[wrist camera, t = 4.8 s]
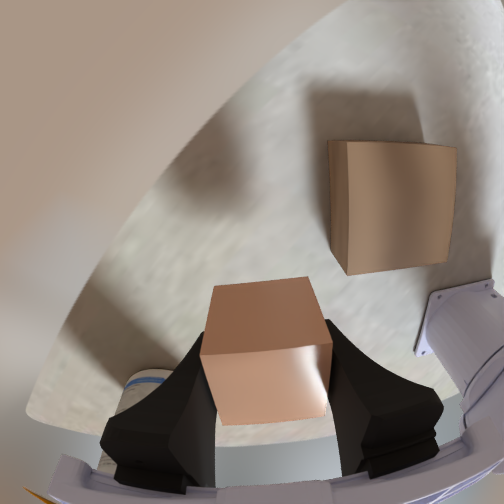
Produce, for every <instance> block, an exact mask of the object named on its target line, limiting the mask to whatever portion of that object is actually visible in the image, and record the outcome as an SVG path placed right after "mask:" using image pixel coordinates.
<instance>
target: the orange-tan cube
mask: <svg viewBox="0 0 504 504" xmlns="http://www.w3.org/2000/svg"><path fill="white" fill-rule="evenodd" d="M332 347H333V341H332V339H331V336H330V333H329V330H328V328H327V325H326V322H325V320H324V317H323V314H322V312H321V309H320V306H319V304H318V301H317V299H316V296H315V293H314V291H313V288H312V286H311V283H310V280H309V278H308V276H307V277H298V278H289V279H280V280H270V281H261V282H251V283H240V284H230V285H219V286H214V289H213V293H212V298H211V303H210V307H209V312H208V317H207V322H206V326H205V331H204V336H203V341H202V346H201V351H200V358H201V362H202V365H203V368H204V371H205V374H206V378H207V381H208V384H209V387H210V390H211V393H212V396H213V399H214V402H215V405H216V408H217V411H218V414H219V416H220V419H221V422H222V425H249V424H264V423H275V422H285V421H294V420H302V419H309V418H316V417H322V416H325V412H326V405H327V397H328V388H329V379H330V370H331V359H332Z"/></svg>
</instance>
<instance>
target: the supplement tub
mask: <svg viewBox="0 0 504 504" xmlns="http://www.w3.org/2000/svg"><path fill="white" fill-rule="evenodd" d="M172 372H173V371H170V370H163V369H148V370H143V371H140V372H138V373H136V374H134V375H133V376H131V377H130V379H129V380H128V381H127V383H126V385H125V388H124V391H123V393H122V396H121V399H120V402H119V404H118V407H117V410H116V413H115V415H117V414H119V413H121V412H123V411H125V410H126V409H128V408H130V407H131V406H133V405H135V404H136V403H138V402H139V401H141V400H142V399H143V398H145V397H146V396H147V395H149V394H150V393H151V392H152V391H154V390H155V389H156V388H157V387H158V386H159V385H160V384H162V383H163V382H164V381H165V380H166V379H167V378H168V376H169V375H170V374H171V373H172ZM115 415H114V416H115ZM116 467H117V464H116V463H115V462H114V461H113V460H112V459H111V458H110V457H109V456H108V455H107V454H106V453H105V452H104V450H103V451H102V455H101V459H100V461H99V464H98V468H97V470H99V471H102V472H106V473H110V474H115V471H116Z"/></svg>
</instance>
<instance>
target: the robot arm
mask: <svg viewBox="0 0 504 504" xmlns="http://www.w3.org/2000/svg"><path fill="white" fill-rule="evenodd" d="M494 283H495V281H494V280H493V279H488V280H484V281H479V282H475V283H471V284H467V285H462V286H458V287H453V288H449V289H444V290H439V291H435V292H433V293H432V294H431V295H430V298H429V302H428V307H427V311H426V315H425V319H424V322H423V326H422V330H421V333H420V337H419V340H418V343H417V347H416V350H415V353H414V354H415V356H416V357H420V356H424V355H427V354H430V353H435V355H436V356H437V358H438V359H439V360H440V362H441V363H442V365H443V366H444V368H445V369H446V371H447V372H448V374H449V376H450V377H451V379H452V380H453V382H454V383H455V385H456V386H457V388H458V390H459V391H460V393H461V394H462V396H463V398H464V399H463V400H462V401H461V403H460V404H459V405H460V406H461V409H462V410H463V413H462V415H461V416H460V419H459V429H460V437H458V438H456V439H454V440H452V441H450V442H448V443H446V444H443V445H441V446H439V447H438V445H437V443H436V440H435V438H434V437H435V436H436V432H435V430H434V426H435V425H436V423H437V422H438V420H439V418H440V417H441V415H442V413H443V410H444V406H443V404H442V402H441V400H440V398H439V397H438V395H437V394H436V392H435V391H434V389H432V388H429V387H426V386H423V385H420V384H416V383H414V382H411V381H409V380H407V379H404V378H402V377H400V376H398V375H396V374H394V373H392V372H390V371H389V370H387V369H385V368H383V367H382V366H380V365H379V364H377V363H376V362H374V361H373V360H371V359H370V358H369V357H368V356H366V355H365V354H364V353H363V352H362V351H360V350H359V349H358V348H357V347H356V346H355V345H354V344H353V343H352V342H351V341H349V340H348V339H347V338H346V337H345V336H344V335H343V333H342V332H341V331H340V330H339V329H338V328H337V327H336V326H335V325H334V324H333V323H332V321H331V320H329V319H325V322H326V325H327V328H328V330H329V333H330V336H331V339H332V341H333V347H332V359H331V370H330V379H329V388H328V400H329V403H330V406H331V410H332V414H333V419H334V424H335V429H336V435H337V441H338V447H339V455H340V462H341V470H342V477H339V478H334V479H329V480H323V481H320V480H312V481H302V482H293V483H284V484H272V485H254V486H232V487H226V488H216V487H215V424H216V416H217V408H216V405H215V402H214V399H213V396H212V393H211V390H210V387H209V384H208V381H207V378H206V374H205V371H204V368H203V365H202V362H201V358H200V351H201V346H202V341H203V336H204V331H203V332H202V333H201V334H200V336H199V337H198V339H197V340H196V342H195V343H194V345H193V346H192V348H191V349H190V350H189V352H188V353H187V355H186V356H185V357H184V359H183V360H182V361H181V362H180V364H179V365H178V366H177V367H176V368H175V370H174V371H173V372H172V373H171V374H170V375H169V376H168V378H167V379H166V380H165V381H164V382H163V383H162V384H160V385H159V386H158V387H157V388H156V389H155V390H154V391H152V392H151V393H150V394H149V395H147V396H146V397H145V398H143V399H142V400H141V401H139V402H138V403H136V404H135V405H133V406H131V407H130V408H128V409H126V410H125V411H123V412H121V413H119V414H117V415H115V416H113V417H111V418H109V420H108V422H107V424H106V427H105V429H104V432H103V435H102V438H101V440H100V446H101V448H102V449H103V450H104V452H105V453H106V454H107V455H108V456H109V457H110V458H111V459H112V460H113V461H114V462H115V463H116V464H117V467H116V471H115V474H110V473H106V472H102V471H99V470H95V469H92V468H91V467H90V466H89V465H88V464H87V463H86V462H84V461H82V460H80V459H78V458H74V457H71V456H68V455H65V454H62V455H61V457H60V459H59V462H58V464H57V467H56V469H55V472H54V474H53V477H52V479H51V482H50V485H49V487H48V490H47V494H48V495H50V496H51V497H53V498H54V499H56V500H57V501H59V502H61V503H62V504H438V503H440V502H442V501H444V500H445V499H447V498H449V497H451V496H453V495H455V494H457V493H458V492H460V491H462V490H464V489H466V488H467V487H469V486H471V485H472V484H474V483H476V482H477V481H479V480H481V479H482V478H484V477H485V476H486V475H487V474H488V473H489V472H491V471H492V472H493V473H494V474H504V297H503V296H501V295H500V294H499V293H498V292H497V291H496V290H494V289H493V287H494Z"/></svg>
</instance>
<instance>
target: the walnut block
mask: <svg viewBox="0 0 504 504" xmlns="http://www.w3.org/2000/svg"><path fill="white" fill-rule="evenodd" d="M328 156H329V176H330V207H331V252H332V254H333V255H334V257H335V258H336V260H337V261H338V263H339V264H340V266H341V267H342V269H343V270H344V272H345V273H346V275H347V276H350V275H358V274H366V273H374V272H381V271H389V270H396V269H403V268H410V267H417V266H424V265H431V264H437V263H444V262H447V259H448V253H449V246H450V240H451V233H452V225H453V215H454V205H455V191H456V169H457V148H455V147H448V146H442V145H435V144H427V143H416V142H399V141H370V140H332V141H328Z"/></svg>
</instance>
